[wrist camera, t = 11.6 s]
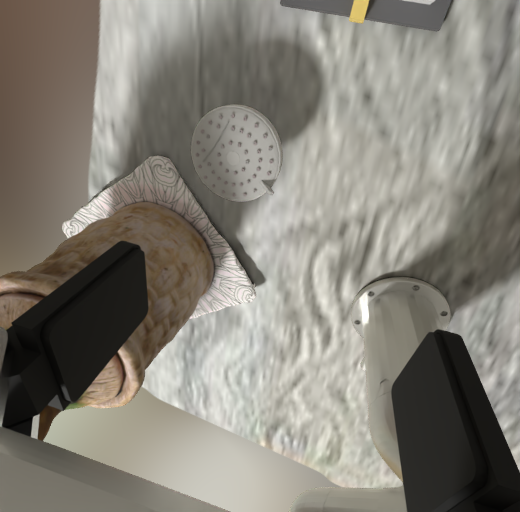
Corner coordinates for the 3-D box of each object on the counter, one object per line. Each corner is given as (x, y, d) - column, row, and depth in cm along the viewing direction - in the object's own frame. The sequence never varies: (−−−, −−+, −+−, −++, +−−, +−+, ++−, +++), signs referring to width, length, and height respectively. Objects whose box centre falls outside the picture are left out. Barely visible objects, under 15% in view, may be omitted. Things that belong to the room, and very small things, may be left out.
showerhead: (245, 225, 33) (170, 164, 31) (261, 201, 39) (199, 148, 37) (304, 159, 28) (217, 81, 26) (311, 143, 34) (242, 79, 32)
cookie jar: (165, 143, 38) (-251, 317, 11) (265, 289, 46) (156, 582, 20) (63, 221, 49) (-267, 398, 23) (158, 327, 57) (-2, 546, 31)
